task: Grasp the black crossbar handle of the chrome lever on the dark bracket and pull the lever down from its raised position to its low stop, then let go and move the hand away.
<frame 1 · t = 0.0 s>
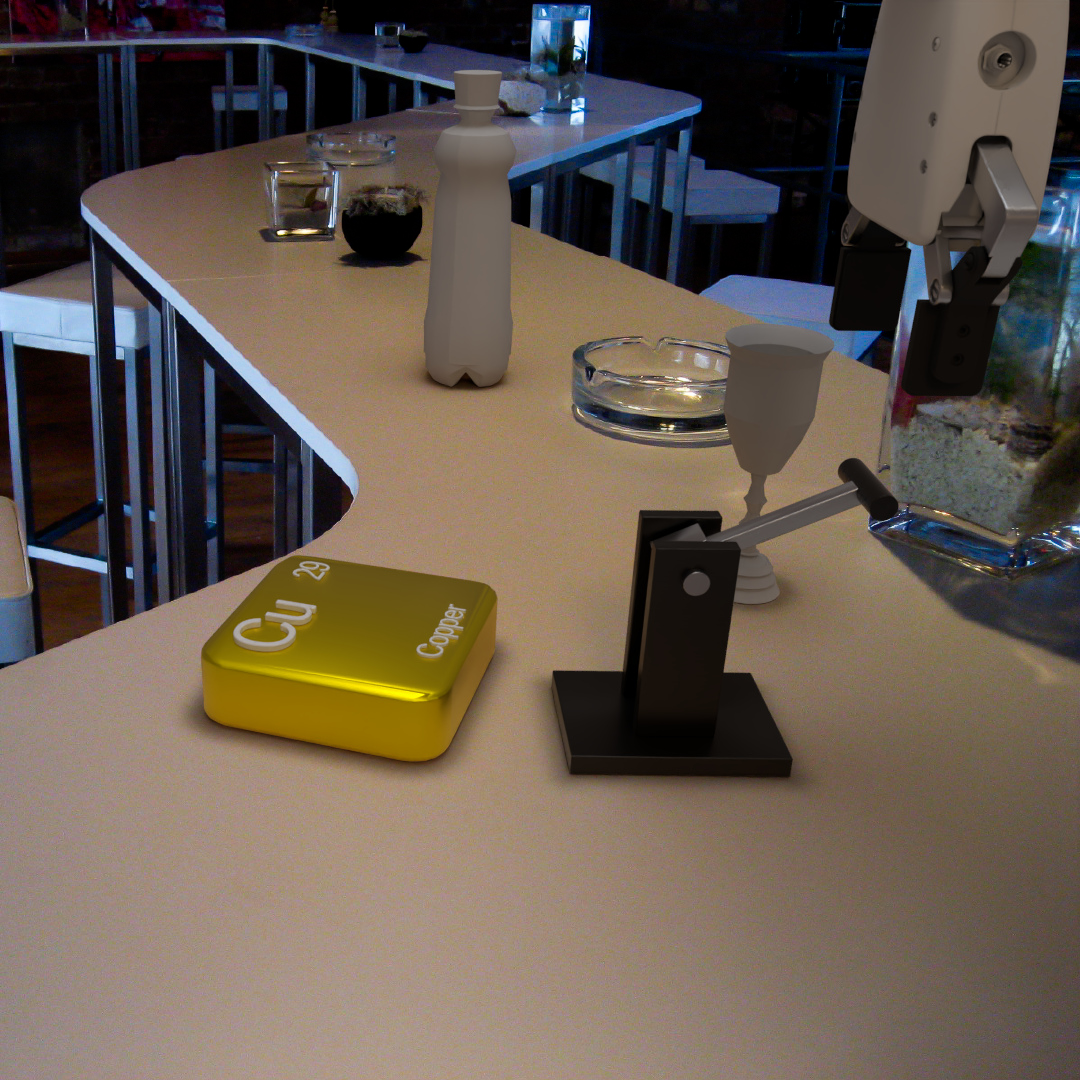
hand: (897, 359, 58), 24 cm above the worktop, tool pointing down, fingers open, 9 cm apart
chalice: (742, 589, 89), on the worktop
bracket: (663, 729, 73), on the worktop
bottle: (466, 379, 132), on the worktop
element tile: (355, 682, 78), on the worktop
lever: (768, 526, 67), point 13 cm above the worktop, hinge at 25.0°
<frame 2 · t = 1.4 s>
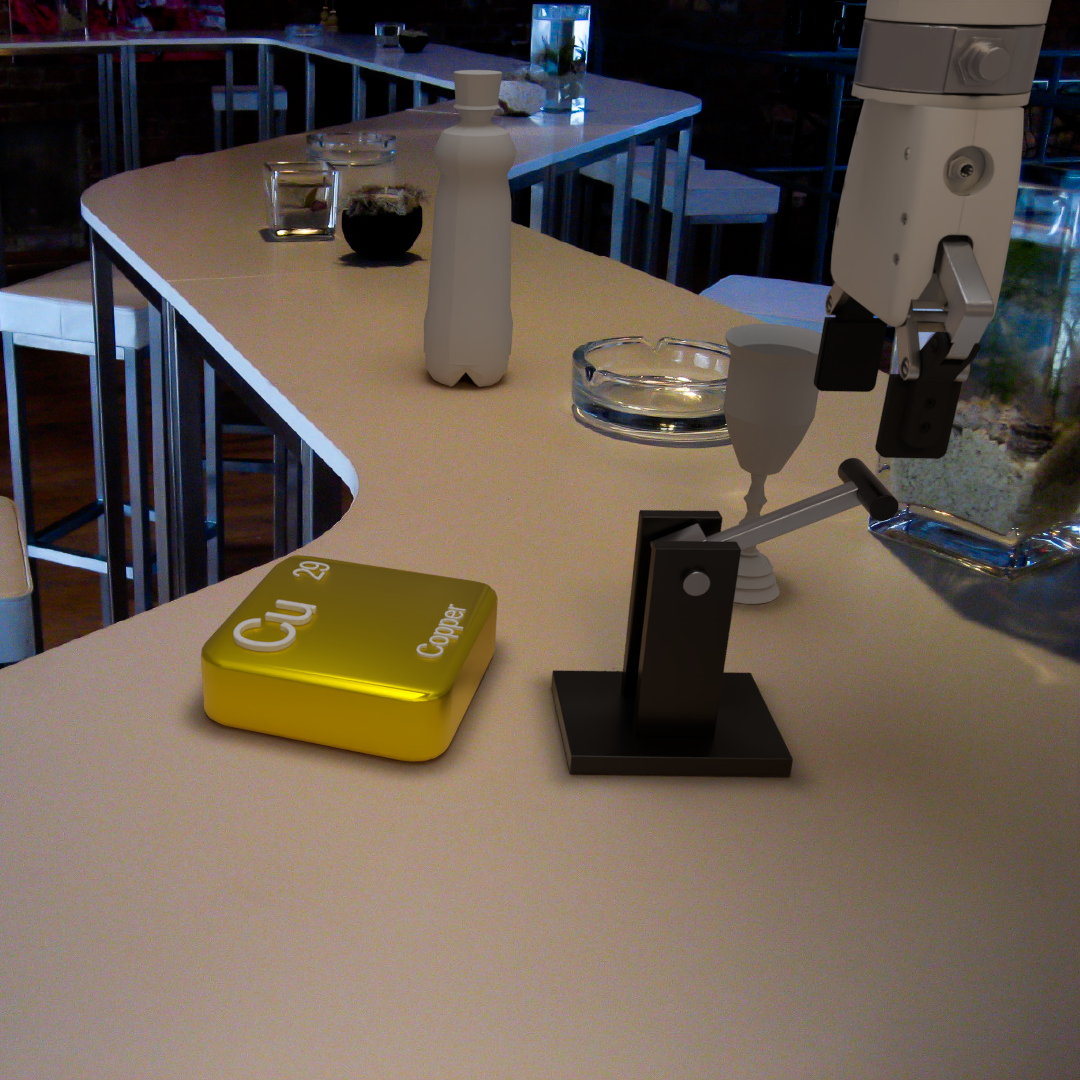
hand: (874, 420, 65), 19 cm above the worktop, tool pointing down, fingers open, 9 cm apart
nothing on the worktop moved.
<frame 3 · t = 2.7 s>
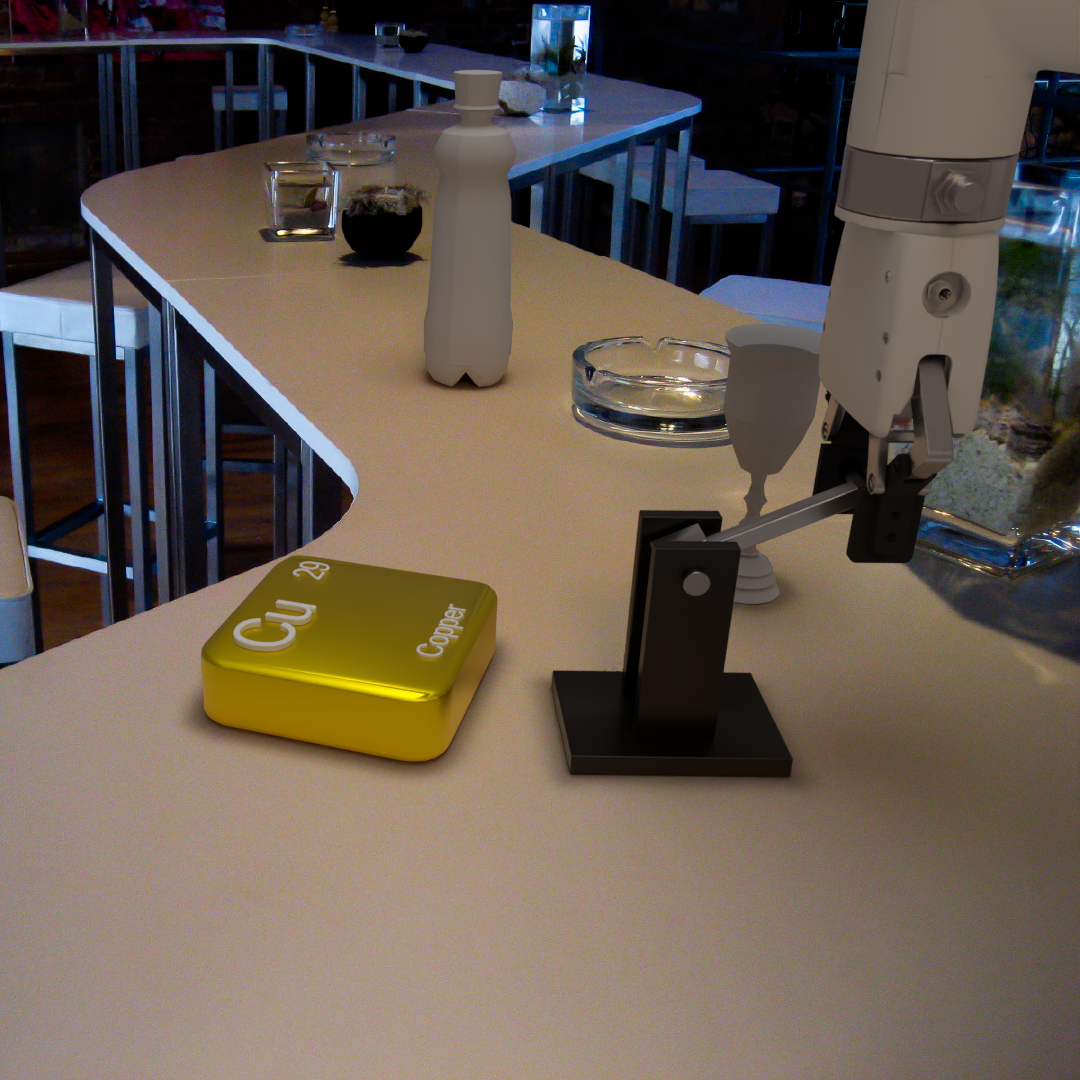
hand: (858, 532, 67), 13 cm above the worktop, tool pointing down, fingers closed on lever, 5 cm apart
lever: (768, 526, 67), point 13 cm above the worktop, hinge at 25.0°, touching gripper
everything else where it was.
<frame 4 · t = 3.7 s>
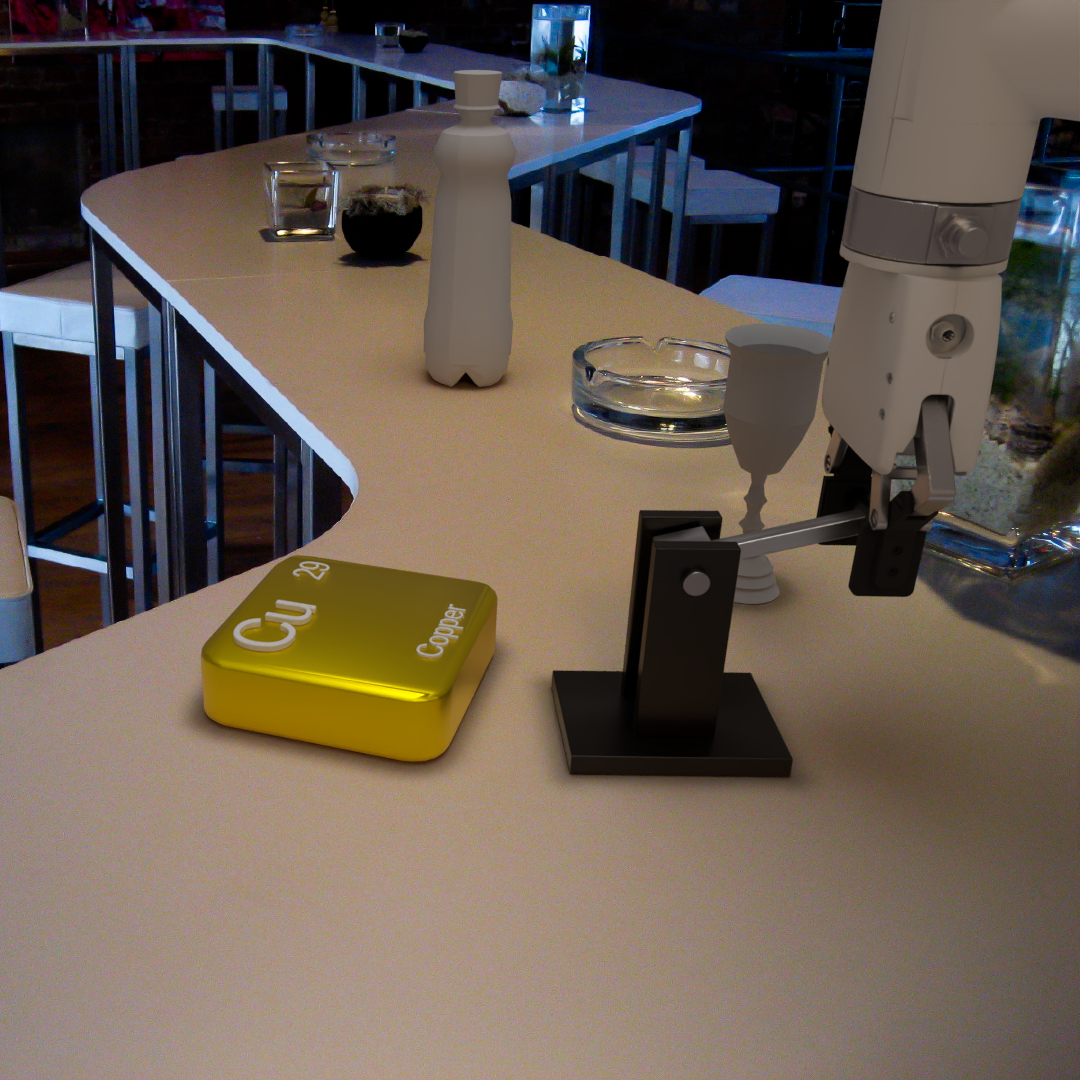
hand: (860, 564, 68), 11 cm above the worktop, tool pointing down, fingers closed on lever, 5 cm apart
lever: (771, 540, 68), point 12 cm above the worktop, hinge at 14.4°, touching gripper
everything else where it was.
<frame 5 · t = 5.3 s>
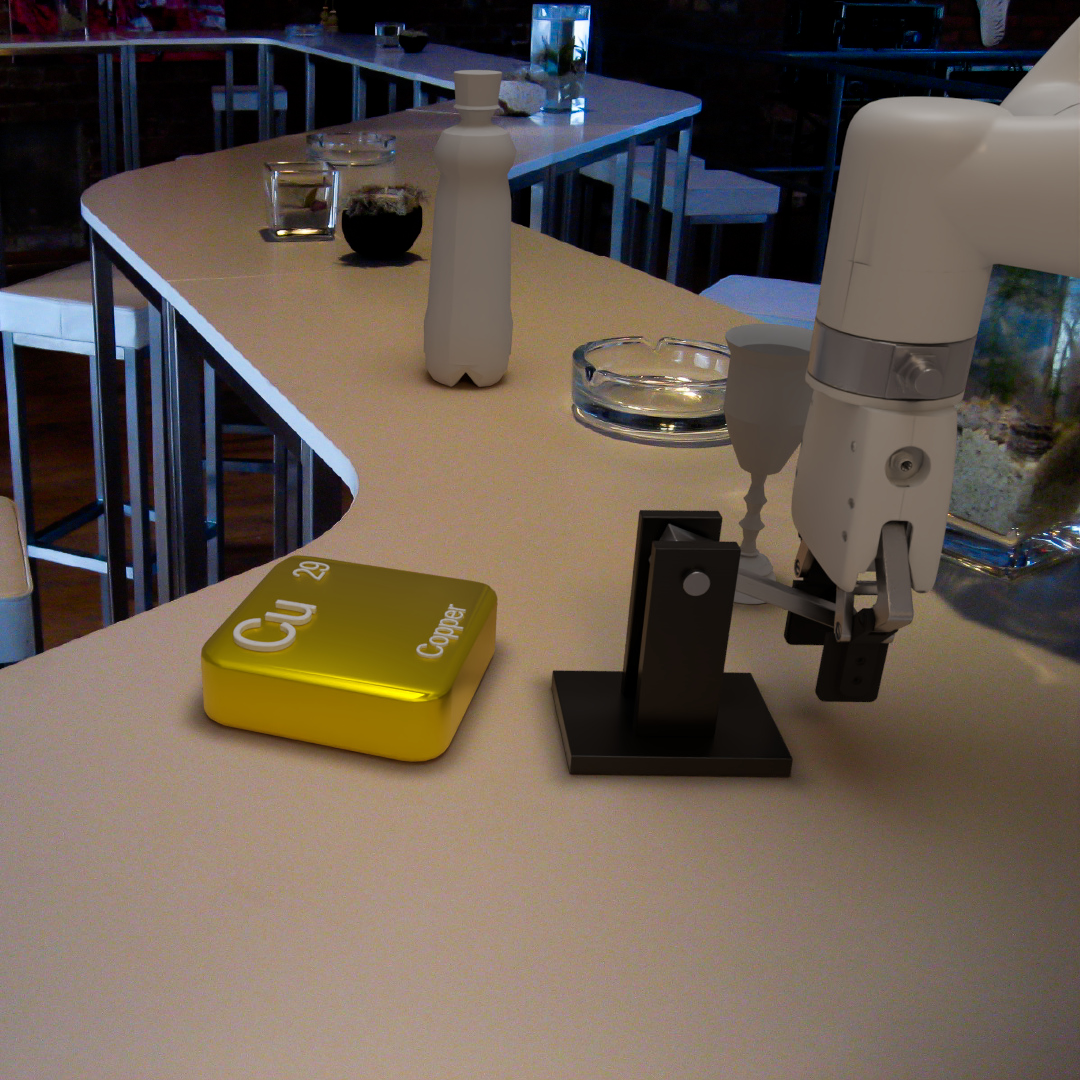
hand: (828, 667, 71), 4 cm above the worktop, tool pointing down, fingers closed on lever, 5 cm apart
lever: (761, 587, 69), point 9 cm above the worktop, hinge at -21.6°, touching gripper
everything else where it was.
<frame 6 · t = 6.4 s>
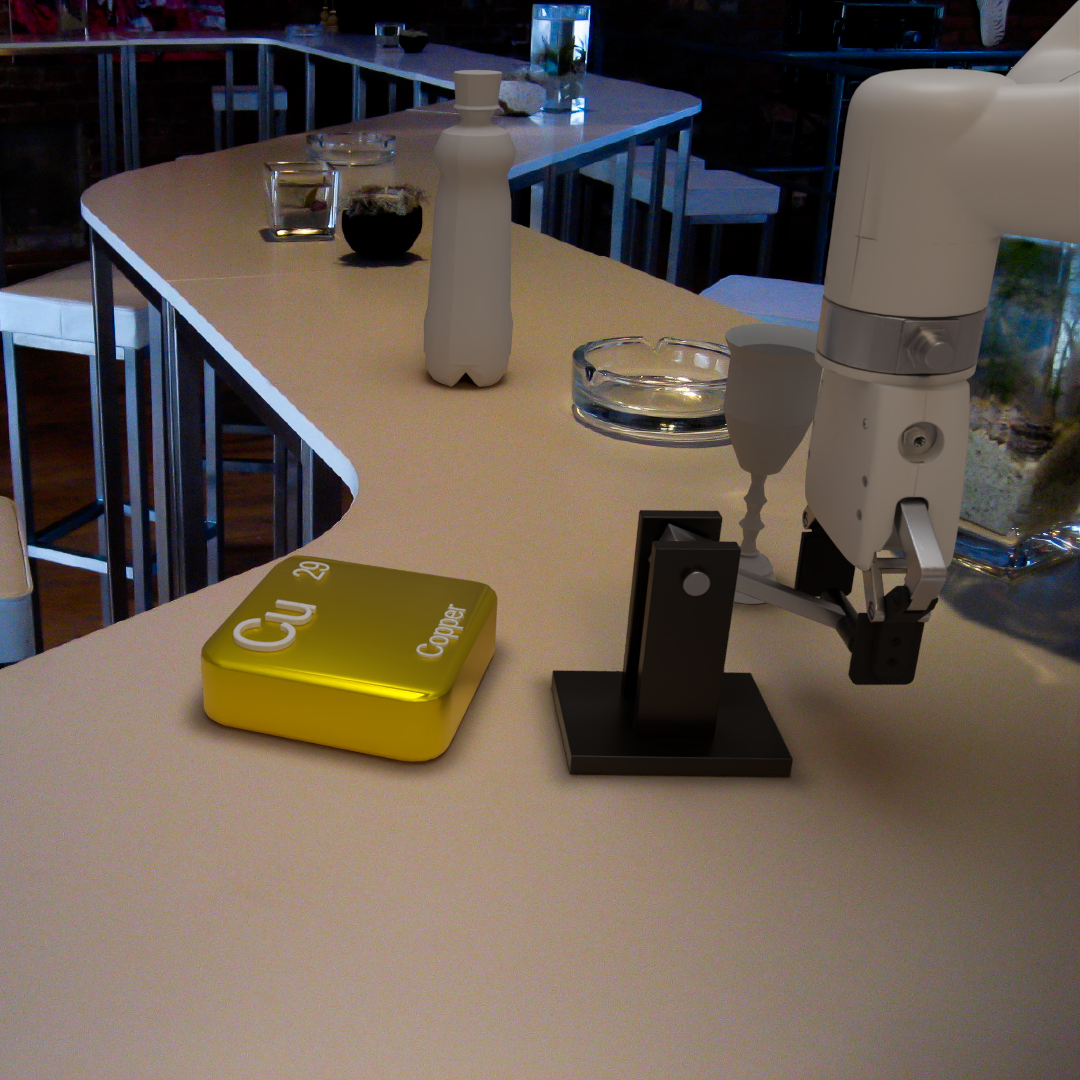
hand: (849, 635, 70), 6 cm above the worktop, tool pointing down, fingers open, 9 cm apart
lever: (760, 588, 69), point 9 cm above the worktop, hinge at -21.8°
everything else where it was.
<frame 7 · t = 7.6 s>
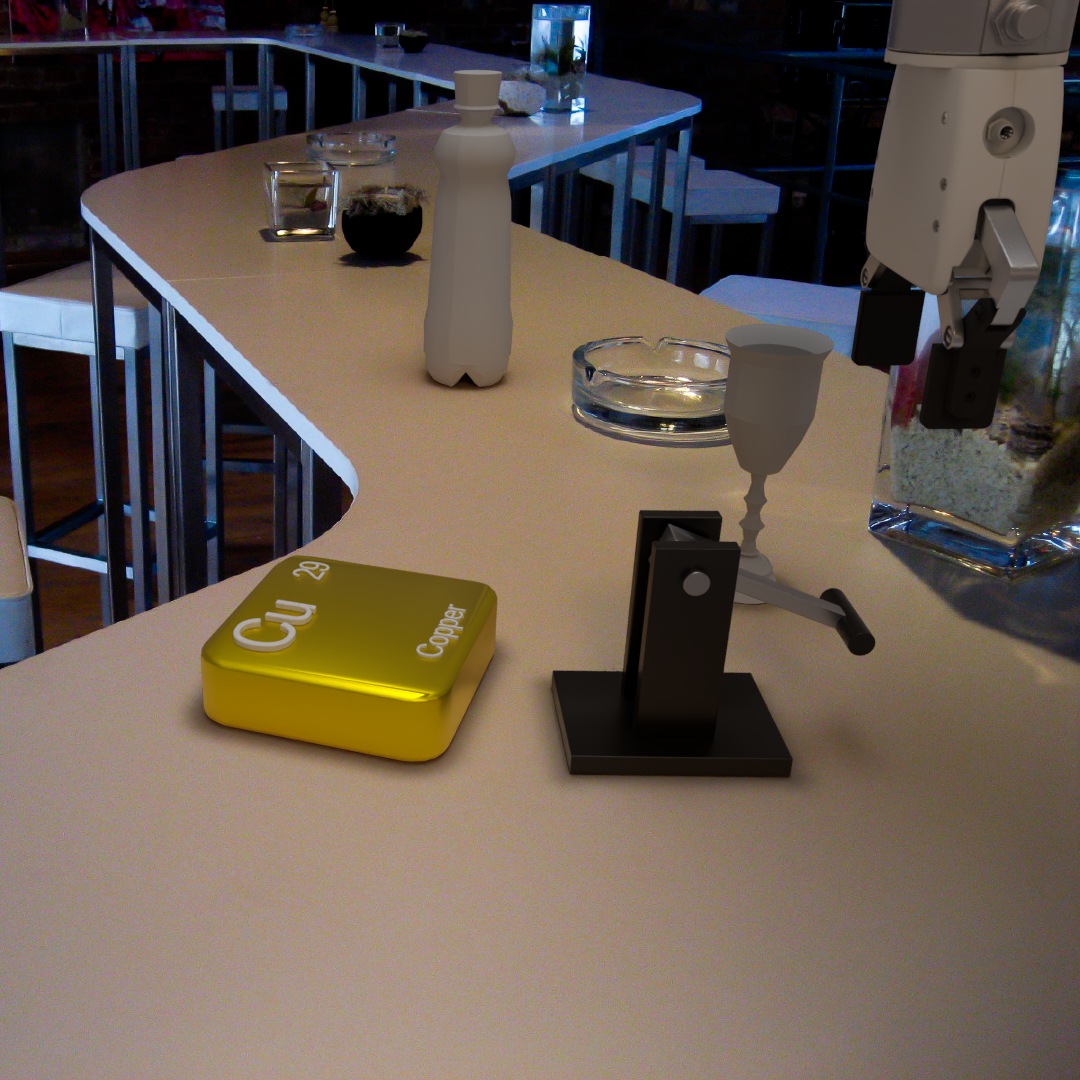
hand: (915, 393, 64), 21 cm above the worktop, tool pointing down, fingers open, 9 cm apart
nothing on the worktop moved.
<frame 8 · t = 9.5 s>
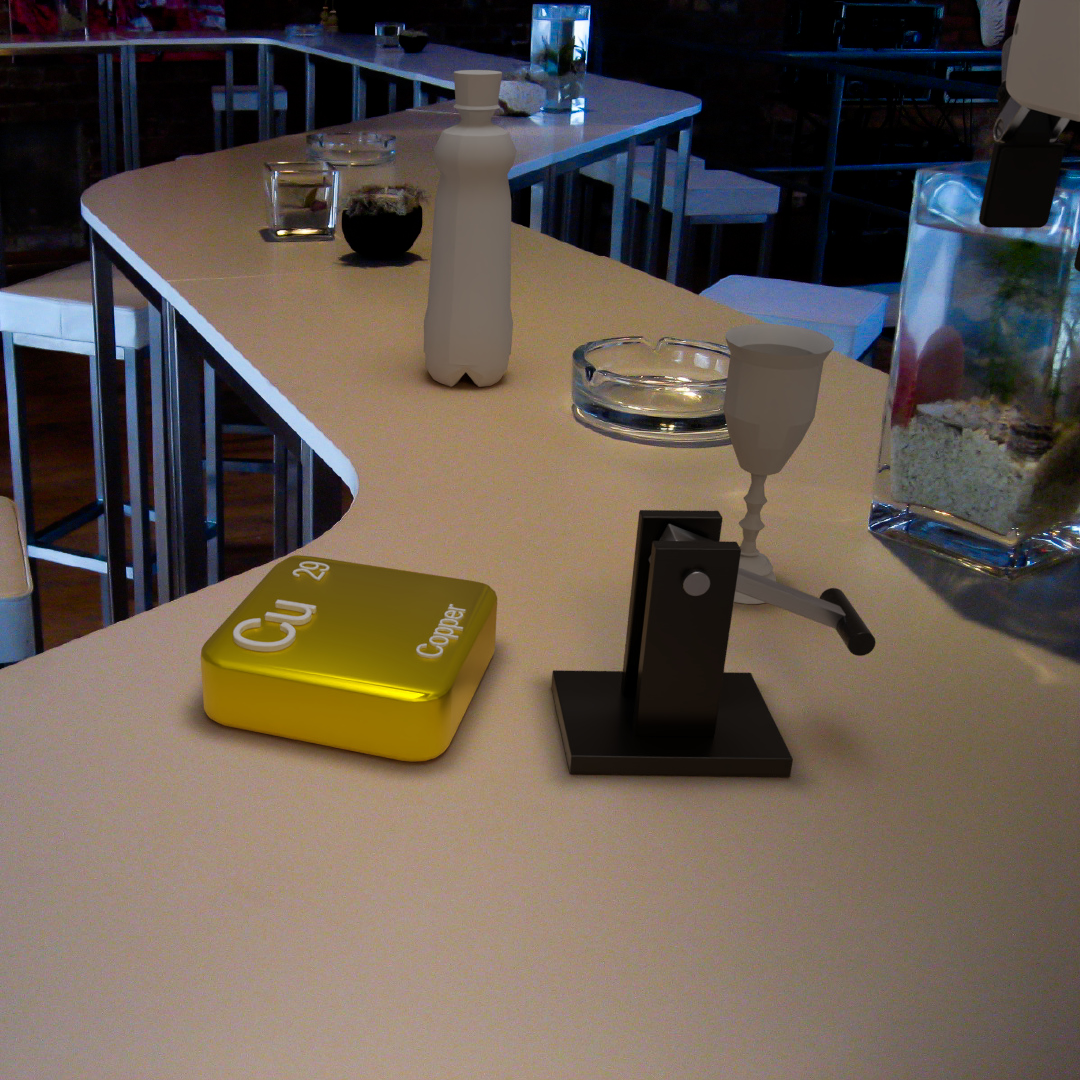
hand: (1058, 247, 59), 28 cm above the worktop, tool pointing down, fingers open, 9 cm apart
nothing on the worktop moved.
at the end: lever at -22° (first picture: +25°); lever reached -22° during the clip, -22° at the end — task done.
